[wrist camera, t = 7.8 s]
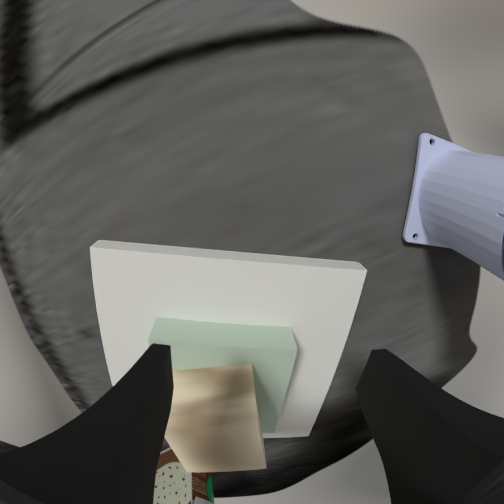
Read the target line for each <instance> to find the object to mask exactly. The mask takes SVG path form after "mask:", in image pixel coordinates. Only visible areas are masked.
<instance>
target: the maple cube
mask: <svg viewBox="0 0 504 504" xmlns="http://www.w3.org/2000/svg"><path fill="white" fill-rule="evenodd" d="M173 383H174V390H173V397H172V405H171V412H170V416H169V420H168V424H167V428H166V432H165V436H164V437H165V439H166V440H167V442H168V444H169V445H170V447H171V448H172V450H173V452H174V453H175V455H176V456H177V458H178V459H179V461H180V462H181V464H182V465H183V467H184V468H185V470H186V471H187V472H228V471H243V470H254V469H263V468H267V467H266V459H265V451H264V442H263V434H262V426H261V417H260V409H259V404H258V398H257V392H256V386H255V380H254V374H253V368H252V363H249V364H241V365H232V366H222V367H212V368H199V369H185V370H173Z"/></svg>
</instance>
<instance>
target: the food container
mask: <svg viewBox="0 0 504 504" xmlns="http://www.w3.org/2000/svg"><path fill="white" fill-rule="evenodd" d="M153 504H214V496H213V486H212V475H211V472H187V471H186V470H185V468H184V467H183V465H182V464H181V462H180V461H179V459H178V458H177V456H176V455H175V453H174V452H173V450H172V448H171V447H170V448H168V449H166V450H164V451H162V452H160V456H159V460H158V465H157V470H156V478H155V488H154V499H153Z"/></svg>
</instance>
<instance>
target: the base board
mask: <svg viewBox="0 0 504 504" xmlns="http://www.w3.org/2000/svg"><path fill="white" fill-rule="evenodd" d="M90 255H91V267H92V276H93V285H94V293H95V301H96V308H97V314H98V320H99V326H100V332H101V337H102V342H103V347H104V352H105V357H106V361H107V365H108V370H109V374H110V378H111V382H112V386H114V385H115V384H116V383H117V382H118V381H119V380H120V379H121V378H122V377H123V376H124V375H125V374H126V373H127V372H128V370H129V369H130V368H131V367H132V366H133V365H134V364H135V363H136V362H137V360H138V359H139V358H140V357H141V356H142V355H143V353H144V352H145V351H146V350H147V349H148V347H149V346H150V345H151V344H153V343H155V344H164V345H170V346H171V360H172V372H173V370H185V369H199V368H212V367H222V366H232V365H241V364H249V363H252V368H253V374H254V380H255V386H256V392H257V398H258V404H259V409H260V417H261V426H262V434H263V438H285V437H303V436H309V434H310V432H311V429H312V427H313V425H314V423H315V420H316V418H317V416H318V413H319V411H320V409H321V406H322V404H323V402H324V399H325V397H326V394H327V392H328V389H329V387H330V384H331V381H332V379H333V376H334V374H335V371H336V368H337V365H338V363H339V360H340V357H341V354H342V351H343V349H344V346H345V343H346V340H347V337H348V334H349V331H350V328H351V324H352V321H353V318H354V315H355V311H356V308H357V305H358V301H359V298H360V294H361V291H362V287H363V284H364V280H365V276H366V272H367V270H366V269H365V268H364V267H363V266H362V265H361V264H360V263H359V262H352V261H341V260H329V259H317V258H305V257H293V256H282V255H270V254H258V253H246V252H235V251H223V250H211V249H199V248H188V247H176V246H165V245H153V244H141V243H130V242H118V241H107V240H98V241H97V242H96V243H94V244H93V245H92V246H91V247H90Z"/></svg>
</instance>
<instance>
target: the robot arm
mask: <svg viewBox="0 0 504 504" xmlns="http://www.w3.org/2000/svg"><path fill="white" fill-rule="evenodd" d="M430 139H431V141H432V144H431V145H430ZM414 234H415V237H414V238H413V235H414ZM402 237H403V239H404V240H405V241H406V242H409V243H417V244H424V245H431V246H438V247H445V248H451V249H453V250H455V251H457V252H458V253H460V254H462V255H463V256H465V257H467V258H469V259H470V260H472V261H474V262H475V263H477V264H478V265H480V266H482V267H483V268H485V269H486V270H488V271H490V272H491V273H493V274H495V275H496V276H498V277H499V278H501V279H502V280H504V157H501V156H495V155H489V154H482V153H475V152H471V151H469V150H467V149H464V148H462V147H460V146H457V145H455V144H453V143H451V142H448V141H446V140H443V139H441V138H438V137H436V136H433V135H430V134H428V133H422V134H421V135H420V137H419V143H418V152H417V159H416V166H415V173H414V179H413V185H412V191H411V196H410V202H409V207H408V212H407V216H406V221H405V226H404V230H403V236H402ZM173 390H174V383H173V372H172V360H171V346H170V345H164V344H155V343H153V344H151V345H150V346H149V347H148V349H147V350H146V351H145V352H144V353H143V355H142V356H141V357H140V358H139V359H138V360H137V362H136V363H135V364H134V365H133V366H132V367H131V368H130V369H129V370H128V372H127V373H126V374H125V375H124V376H123V377H122V378H121V379H120V380H119V381H118V382H117V383H116V384H115V385H114V386H113V387H112V388H111V389H110V390H109V391H108V392H107V393H105V394H104V395H103V396H102V397H101V398H100V399H99V400H98V401H97V402H95V403H94V404H93V405H92V406H91V407H89V408H88V409H87V410H85V411H84V412H83V413H81V414H80V415H79V416H77V417H76V418H75V419H73V420H71V421H70V422H68V423H67V424H65V425H64V426H62V427H61V428H59V429H57V430H56V431H54V432H52V433H50V434H48V435H46V436H44V437H42V438H41V439H39V440H37V441H35V442H33V443H30V444H28V445H26V446H23V447H21V448H18V449H15V450H12V451H9V452H6V453H3V454H0V504H153V499H154V488H155V478H156V470H157V465H158V460H159V456H160V452H161V448H162V444H163V440H164V436H165V432H166V428H167V424H168V420H169V416H170V412H171V405H172V397H173ZM356 390H357V394H358V398H359V402H360V406H361V410H362V412H363V415H364V417H365V420H366V422H367V425H368V427H369V429H370V432H371V434H372V436H373V439H374V441H375V443H376V446H377V448H378V451H379V453H380V456H381V459H382V462H383V465H384V469H385V473H386V477H387V481H388V486H389V492H390V497H391V503H392V504H504V418H502V417H498V416H495V415H493V414H490V413H487V412H485V411H482V410H480V409H477V408H475V407H473V406H471V405H469V404H467V403H465V402H463V401H461V400H459V399H458V398H456V397H454V396H452V395H451V394H449V393H447V392H446V391H444V390H443V389H441V388H440V387H438V386H437V385H435V384H434V383H432V382H431V381H430V380H428V379H427V378H425V377H424V376H423V375H421V374H420V373H419V372H417V371H416V370H414V369H413V368H412V367H410V366H409V365H408V364H406V363H405V362H404V361H402V360H401V359H400V358H398V357H397V356H395V355H394V354H393V353H391V352H390V351H388V350H386V349H378V350H372V351H371V354H370V356H369V359H368V361H367V364H366V366H365V369H364V371H363V374H362V376H361V378H360V381H359V383H358V385H357V387H356Z"/></svg>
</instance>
